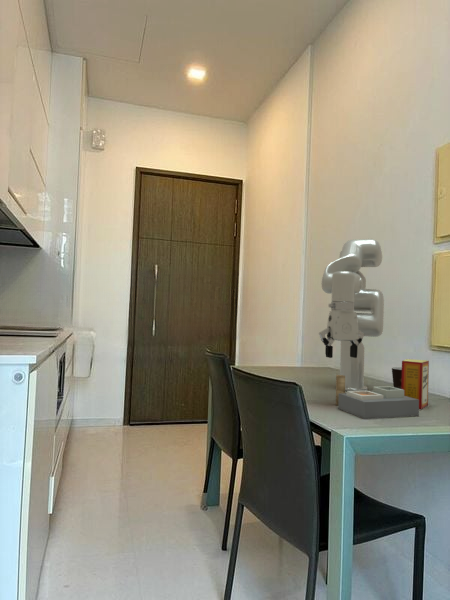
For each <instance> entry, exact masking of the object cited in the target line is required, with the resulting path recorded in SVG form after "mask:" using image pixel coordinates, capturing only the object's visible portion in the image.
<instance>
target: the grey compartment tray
mask: <svg viewBox="0 0 450 600" xmlns="http://www.w3.org/2000/svg"><path fill="white" fill-rule="evenodd" d="M360 394H369V395H360ZM337 407H338V410H341V411H343V412H347V413H349V414H351V415H354V416H356V417H358V418H361V419H363V420H370V419H384V418H388V419H389V418H402V417H418V416H420V409H419V400H418V399H414V398H411V397H407V396H404V390H403V389H399V388H395V387H394V386H390V385H389V386H388V385H385V386H372V390H371V391H370V390H366V391H346V392H345V393H339V402H338V406H337Z"/></svg>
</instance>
